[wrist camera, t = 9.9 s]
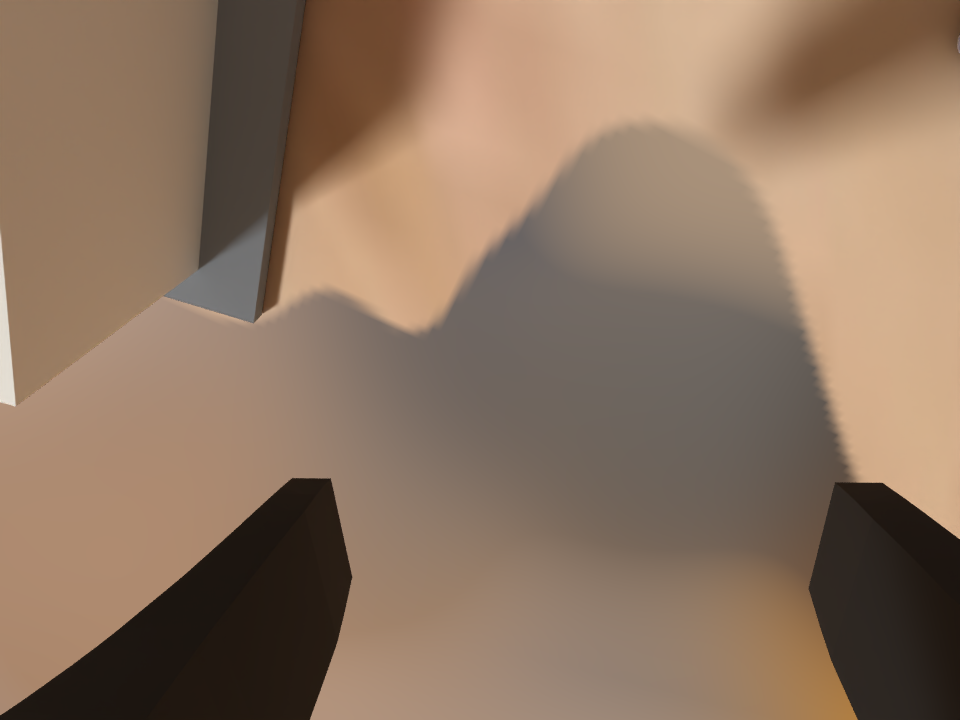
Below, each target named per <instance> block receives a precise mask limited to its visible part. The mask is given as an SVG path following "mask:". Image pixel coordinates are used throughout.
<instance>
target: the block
mask: <svg viewBox="0 0 960 720" xmlns="http://www.w3.org/2000/svg"><path fill="white" fill-rule="evenodd" d="M217 11H218V0H0V402H2V403H6V404H9V405H12V406H17V405H18V404H20V403H21V402H22V401H24V400H25V399H26V398H28V397H29V396H30V395H32V394H33V393H34V392H36V391H37V390H38V389H40V388H41V387H42V386H44V385H45V384H46V383H48V382H49V381H50V380H52V379H53V378H54V377H56V376H57V375H59V374H60V373H61V372H62V371H64V370H65V369H66V368H68V367H69V366H70V365H72V364H73V363H75V362H76V361H77V360H79V359H80V358H81V357H83V356H84V355H85V354H86V353H88V352H89V351H90V350H92V349H93V348H95V347H96V346H97V345H98V344H100V343H101V342H102V341H104V340H105V339H106V338H108V337H109V336H111V335H112V334H113V333H115V332H116V331H117V330H119V329H120V328H121V327H123V326H124V325H125V324H127V323H128V322H129V321H131V320H132V319H133V318H134V317H136V316H137V315H138V314H140V313H141V312H143V311H144V310H145V309H147V308H148V307H149V306H151V305H152V304H153V303H155V302H156V301H157V300H159V299H160V298H161V297H163V296H164V295H165V294H167V293H168V292H169V291H171V290H172V289H173V288H175V287H176V286H177V285H179V284H180V283H181V282H183V281H184V280H185V279H187V278H188V277H189V276H191V275H192V274H193V273H195V272H196V271H197V270H198V268H199V255H200V241H201V227H202V214H203V200H204V187H205V173H206V160H207V146H208V133H209V119H210V106H211V92H212V79H213V65H214V52H215V38H216V25H217Z"/></svg>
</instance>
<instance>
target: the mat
mask: <svg viewBox="0 0 960 720" xmlns="http://www.w3.org/2000/svg"><path fill="white" fill-rule="evenodd" d="M305 2H306V0H218V11H217V25H216V38H215V52H214V65H213V79H212V92H211V106H210V119H209V133H208V146H207V160H206V173H205V187H204V200H203V214H202V227H201V241H200V255H199V268H198V270H197V271H196V272H195V273H193V274H192V275H191V276H189V277H188V278H187V279H185V280H184V281H183V282H181V283H180V284H179V285H177V286H176V287H175V288H173V289H172V290H171V291H169V292H168V293H167V294H165V295H164V296H165V297H168V298H171V299H175V300H178V301H181V302H185V303H188V304H191V305H195V306H198V307H201V308H205V309H208V310H211V311H214V312H218V313H221V314H224V315H228V316H231V317H234V318H238V319H241V320H244V321H248V322H251V323H254V322H255V321H256V320H257V319H258V318H259V317H260V316H261V315H262V309H263V302H264V295H265V288H266V280H267V273H268V266H269V259H270V252H271V245H272V238H273V230H274V223H275V216H276V209H277V202H278V195H279V188H280V180H281V173H282V166H283V159H284V152H285V145H286V138H287V130H288V123H289V116H290V109H291V102H292V95H293V88H294V80H295V73H296V66H297V59H298V52H299V45H300V37H301V30H302V23H303V16H304V9H305Z"/></svg>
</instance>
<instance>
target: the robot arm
mask: <svg viewBox="0 0 960 720" xmlns="http://www.w3.org/2000/svg"><path fill="white" fill-rule="evenodd" d="M957 49H958V51H959V53H960V34H959V37H958V41H957ZM351 580H352V574H351V570H350V565H349V561H348V556H347V552H346V546H345V543H344V538H343V533H342V528H341V523H340V519H339V515H338V510H337V505H336V501H335V496H334V491H333V487H332V482H331V479H315V478H309V479H306V478H292V479H291V480H290V481H288V482H287V483H286V484H285V485H284V486H283V487H281V488H280V489H279V490H278V491H277V492H276V493H275V494H274V495H273V496H271V497H270V498H269V499H268V500H267V501H266V502H265V503H264V504H263V505H261V506H260V507H259V508H258V509H257V510H256V511H255V512H254V513H253V514H252V515H251V516H250V517H249V518H247V519H246V520H245V521H244V522H243V523H242V524H241V525H240V526H239V527H238V528H236V529H235V530H234V531H233V532H232V533H231V534H230V535H229V536H228V537H227V538H225V539H224V540H223V541H222V542H221V543H220V544H219V545H218V546H217V547H215V548H214V549H213V550H212V551H211V552H210V553H209V554H208V555H206V556H205V557H204V558H203V559H202V560H201V561H200V562H199V563H197V564H196V565H195V566H194V567H193V568H192V569H191V570H190V571H188V572H187V573H186V574H185V575H184V576H183V577H182V578H180V579H179V580H178V581H177V582H176V583H174V584H173V585H172V586H171V587H170V588H168V589H167V590H166V591H165V592H164V593H163V594H161V595H160V596H159V597H157V598H156V599H155V600H154V601H153V602H151V603H150V604H149V605H148V606H147V607H145V608H144V609H143V610H142V611H140V612H139V613H138V614H137V615H136V616H134V617H133V618H132V619H131V620H130V621H128V622H127V623H126V624H125V625H123V626H122V627H121V628H120V629H119V630H117V631H116V632H115V633H114V634H112V635H111V636H110V637H109V638H107V639H106V640H105V641H103V642H102V643H101V644H100V645H98V646H97V647H96V648H94V649H93V650H92V651H90V652H89V653H88V654H86V655H85V656H84V657H82V658H81V659H80V660H78V661H77V662H76V663H74V664H73V665H72V666H70V667H69V668H67V669H66V670H65V671H63V672H62V673H61V674H59V675H58V676H56V677H55V678H54V679H52V680H51V681H49V682H48V683H47V684H45V685H44V686H43V687H41V688H40V689H38V690H37V691H35V692H34V693H33V694H31V695H30V696H28V697H27V698H25V699H24V700H23V701H21V702H20V703H18V704H17V705H15V706H14V707H12V708H11V709H9V710H8V711H7V712H5V713H3V714H2V715H0V720H310V717H311V715H312V712H313V709H314V706H315V703H316V701H317V698H318V695H319V693H320V690H321V687H322V684H323V681H324V679H325V676H326V673H327V670H328V667H329V664H330V662H331V659H332V656H333V653H334V650H335V647H336V644H337V641H338V637H339V633H340V628H341V625H342V621H343V616H344V612H345V607H346V603H347V598H348V594H349V589H350V585H351ZM809 591H810V594H811V598H812V601H813V604H814V608H815V611H816V614H817V618H818V621H819V624H820V628H821V631H822V634H823V637H824V640H825V643H826V646H827V648H828V652H829V655H830V658H831V661H832V663H833V665H834V667H835V670H836V672H837V674H838V677H839V679H840V681H841V683H842V685H843V688H844V690H845V692H846V694H847V696H848V699H849V701H850V703H851V705H852V707H853V710H854V712H855V714H856V717H857V719H858V720H960V539H958V538H957V537H956V536H954V535H953V534H952V533H950V532H949V531H948V530H946V529H945V528H944V527H942V526H941V525H940V524H938V523H937V522H936V521H934V520H933V519H932V518H930V517H929V516H928V515H926V514H925V513H924V512H922V511H921V510H920V509H918V508H917V507H916V506H914V505H913V504H911V503H910V502H909V501H907V500H906V499H905V498H903V497H902V496H900V495H899V494H898V493H896V492H895V491H893V490H892V489H890V488H889V487H887V486H886V485H885V484H883V483H835V485H834V489H833V493H832V497H831V501H830V505H829V509H828V513H827V517H826V521H825V525H824V530H823V533H822V537H821V541H820V545H819V549H818V553H817V558H816V561H815V565H814V569H813V573H812V577H811V581H810V586H809Z"/></svg>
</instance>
